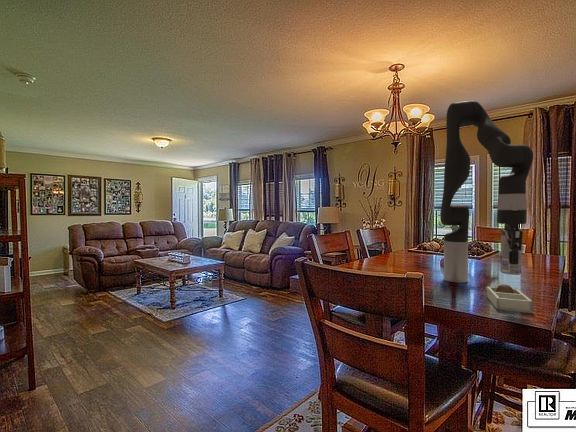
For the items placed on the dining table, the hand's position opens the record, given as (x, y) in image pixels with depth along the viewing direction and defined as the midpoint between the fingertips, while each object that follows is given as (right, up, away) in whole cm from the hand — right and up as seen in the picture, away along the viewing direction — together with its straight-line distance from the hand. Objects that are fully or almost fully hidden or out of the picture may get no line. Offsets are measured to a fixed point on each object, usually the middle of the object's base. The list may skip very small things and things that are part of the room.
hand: (511, 262), depth 98 cm
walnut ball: (+3, -13, +7) cm, 15 cm away
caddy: (+2, -14, +4) cm, 15 cm away
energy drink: (0, -4, 0) cm, 4 cm away
